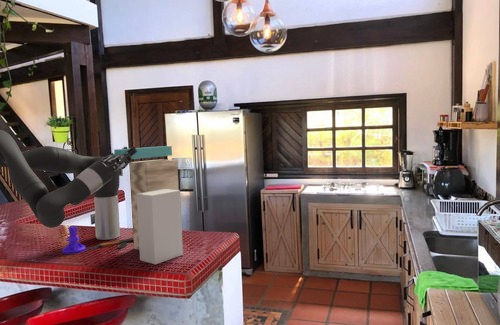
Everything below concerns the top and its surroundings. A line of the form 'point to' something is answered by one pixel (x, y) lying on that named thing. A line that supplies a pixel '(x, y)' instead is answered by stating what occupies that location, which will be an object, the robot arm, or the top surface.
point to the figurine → (73, 242)
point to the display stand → (150, 183)
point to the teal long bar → (147, 152)
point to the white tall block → (159, 225)
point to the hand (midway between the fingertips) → (131, 149)
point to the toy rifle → (122, 242)
